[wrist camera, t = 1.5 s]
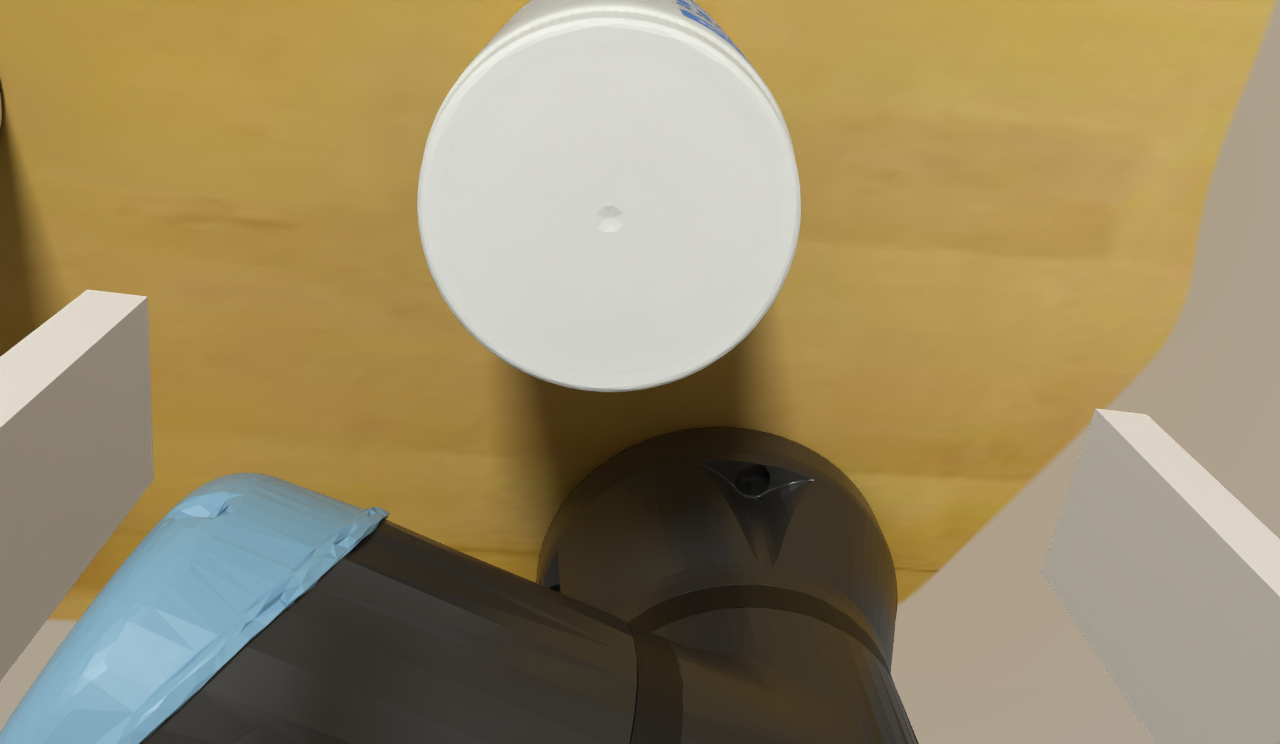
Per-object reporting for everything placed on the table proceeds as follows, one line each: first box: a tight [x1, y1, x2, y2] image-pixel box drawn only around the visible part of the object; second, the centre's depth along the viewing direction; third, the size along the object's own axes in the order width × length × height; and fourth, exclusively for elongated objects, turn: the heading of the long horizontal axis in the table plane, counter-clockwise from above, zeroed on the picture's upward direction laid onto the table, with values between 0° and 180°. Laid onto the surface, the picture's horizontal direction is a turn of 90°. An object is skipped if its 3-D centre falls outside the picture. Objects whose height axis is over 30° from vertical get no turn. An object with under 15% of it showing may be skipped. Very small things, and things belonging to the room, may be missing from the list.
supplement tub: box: [417, 0, 801, 392], centre depth 33 cm, size 10×10×15 cm
